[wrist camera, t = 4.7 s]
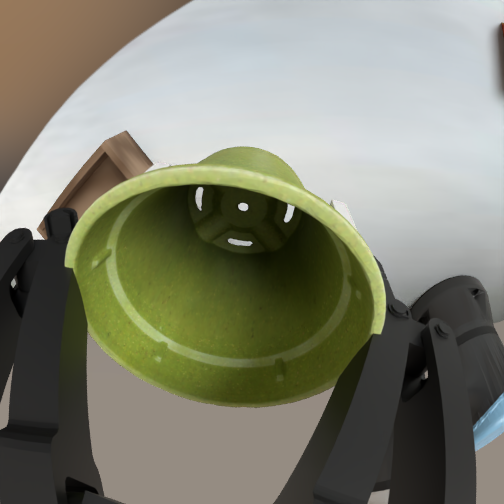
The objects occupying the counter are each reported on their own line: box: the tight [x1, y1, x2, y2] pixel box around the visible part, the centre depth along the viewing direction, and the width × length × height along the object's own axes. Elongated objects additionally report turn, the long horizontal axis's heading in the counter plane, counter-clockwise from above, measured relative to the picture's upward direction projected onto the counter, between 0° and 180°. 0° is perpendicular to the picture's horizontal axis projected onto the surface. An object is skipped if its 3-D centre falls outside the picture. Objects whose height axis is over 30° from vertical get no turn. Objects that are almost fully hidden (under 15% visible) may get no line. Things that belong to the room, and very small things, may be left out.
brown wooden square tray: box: [37, 131, 154, 240], centre depth 33 cm, size 18×18×4 cm
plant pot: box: [65, 147, 386, 408], centre depth 11 cm, size 9×9×9 cm
